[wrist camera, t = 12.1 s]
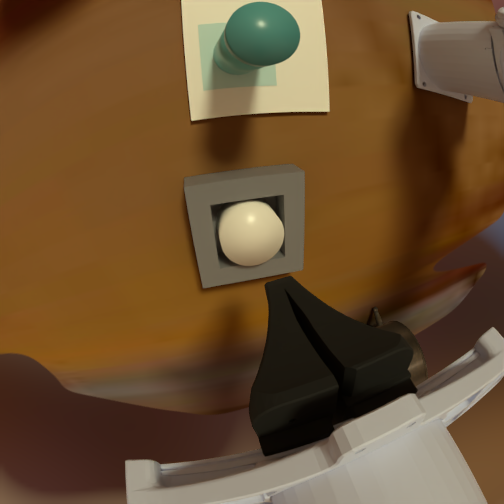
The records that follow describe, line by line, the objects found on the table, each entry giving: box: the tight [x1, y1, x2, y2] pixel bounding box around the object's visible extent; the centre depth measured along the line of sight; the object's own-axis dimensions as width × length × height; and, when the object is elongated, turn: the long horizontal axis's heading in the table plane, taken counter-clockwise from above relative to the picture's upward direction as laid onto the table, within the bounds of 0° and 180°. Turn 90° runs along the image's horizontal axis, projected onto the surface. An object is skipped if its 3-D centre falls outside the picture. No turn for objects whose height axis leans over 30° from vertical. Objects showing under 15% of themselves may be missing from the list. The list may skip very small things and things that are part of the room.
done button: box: [216, 198, 284, 266], centre depth 20 cm, size 4×4×3 cm
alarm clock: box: [373, 307, 428, 386], centre depth 26 cm, size 11×5×16 cm, turn 11°
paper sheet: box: [181, 0, 330, 121], centre depth 14 cm, size 10×14×1 cm
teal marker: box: [213, 2, 300, 75], centre depth 12 cm, size 3×3×7 cm
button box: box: [184, 164, 305, 288], centre depth 21 cm, size 8×8×2 cm
